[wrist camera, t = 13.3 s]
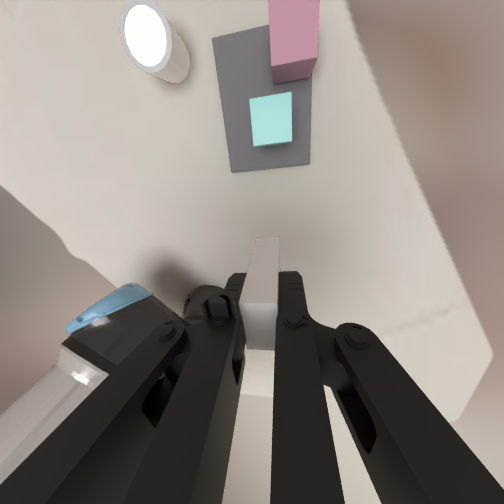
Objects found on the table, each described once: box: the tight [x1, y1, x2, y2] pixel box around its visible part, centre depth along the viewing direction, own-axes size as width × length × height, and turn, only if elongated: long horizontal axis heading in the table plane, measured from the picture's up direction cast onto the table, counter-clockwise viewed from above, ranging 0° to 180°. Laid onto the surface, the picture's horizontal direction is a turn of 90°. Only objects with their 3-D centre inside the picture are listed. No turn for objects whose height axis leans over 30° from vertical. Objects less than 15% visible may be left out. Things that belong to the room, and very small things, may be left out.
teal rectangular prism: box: [249, 92, 292, 147], centre depth 28 cm, size 5×5×7 cm
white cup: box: [119, 0, 190, 83], centre depth 27 cm, size 7×7×7 cm
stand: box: [212, 0, 320, 173], centre depth 27 cm, size 14×18×9 cm
